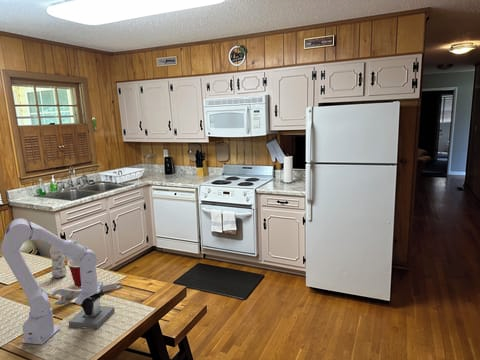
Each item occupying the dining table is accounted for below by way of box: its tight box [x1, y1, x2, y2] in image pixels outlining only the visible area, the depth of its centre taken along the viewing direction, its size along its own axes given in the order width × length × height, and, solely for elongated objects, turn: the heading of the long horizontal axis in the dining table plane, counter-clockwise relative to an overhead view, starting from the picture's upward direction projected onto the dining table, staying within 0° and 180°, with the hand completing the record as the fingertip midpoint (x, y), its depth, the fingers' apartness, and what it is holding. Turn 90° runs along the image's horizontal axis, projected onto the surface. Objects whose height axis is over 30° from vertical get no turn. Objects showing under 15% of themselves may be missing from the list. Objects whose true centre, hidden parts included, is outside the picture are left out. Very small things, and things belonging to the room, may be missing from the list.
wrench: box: [50, 281, 123, 306], centre depth 146 cm, size 8×2×30 cm
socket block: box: [68, 305, 115, 330], centre depth 130 cm, size 12×12×2 cm
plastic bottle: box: [49, 245, 67, 279], centre depth 166 cm, size 6×7×20 cm
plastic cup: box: [66, 259, 82, 288], centre depth 158 cm, size 11×11×12 cm
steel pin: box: [85, 297, 101, 318], centre depth 129 cm, size 4×4×7 cm
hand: (92, 311), depth 129 cm, fingers closed on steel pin, 4 cm apart
